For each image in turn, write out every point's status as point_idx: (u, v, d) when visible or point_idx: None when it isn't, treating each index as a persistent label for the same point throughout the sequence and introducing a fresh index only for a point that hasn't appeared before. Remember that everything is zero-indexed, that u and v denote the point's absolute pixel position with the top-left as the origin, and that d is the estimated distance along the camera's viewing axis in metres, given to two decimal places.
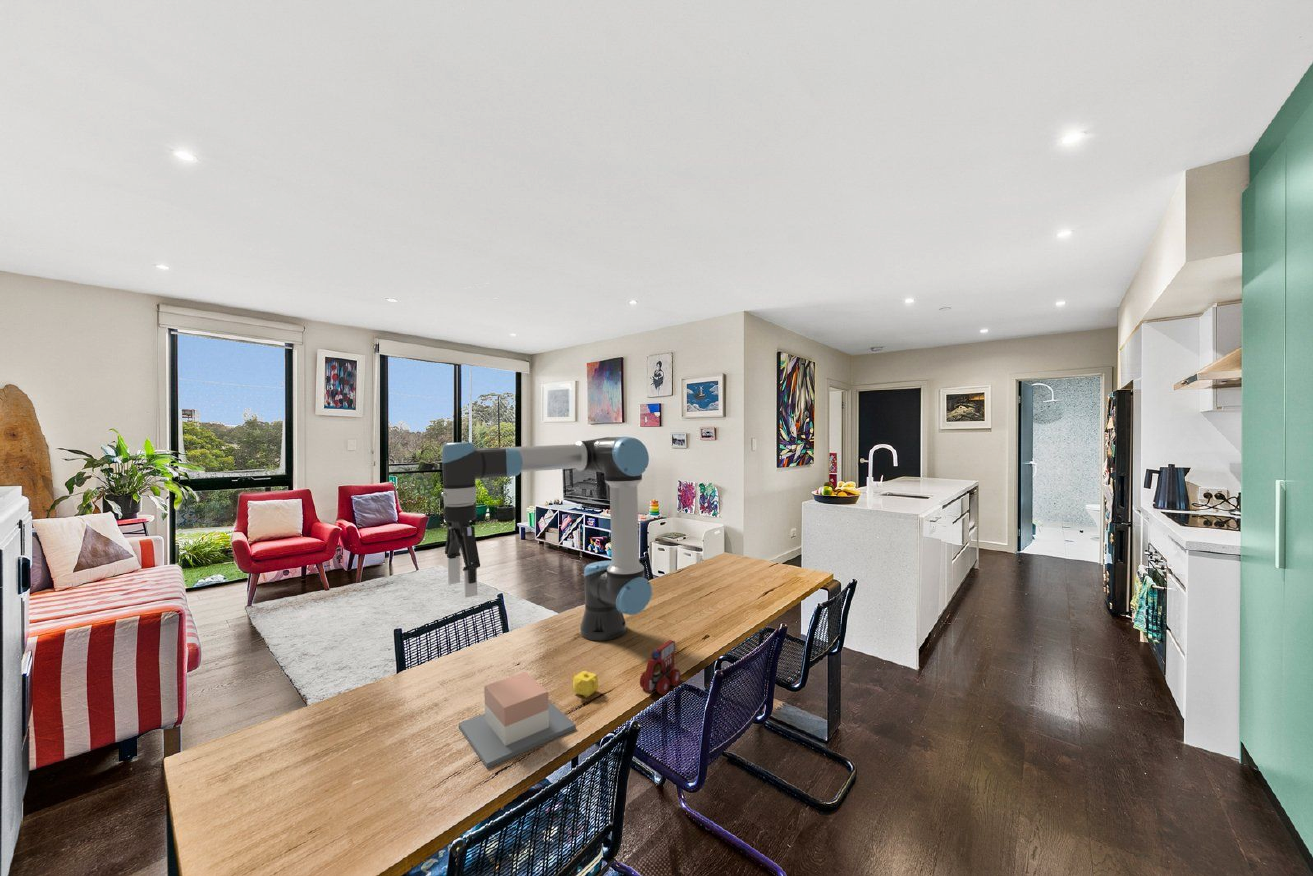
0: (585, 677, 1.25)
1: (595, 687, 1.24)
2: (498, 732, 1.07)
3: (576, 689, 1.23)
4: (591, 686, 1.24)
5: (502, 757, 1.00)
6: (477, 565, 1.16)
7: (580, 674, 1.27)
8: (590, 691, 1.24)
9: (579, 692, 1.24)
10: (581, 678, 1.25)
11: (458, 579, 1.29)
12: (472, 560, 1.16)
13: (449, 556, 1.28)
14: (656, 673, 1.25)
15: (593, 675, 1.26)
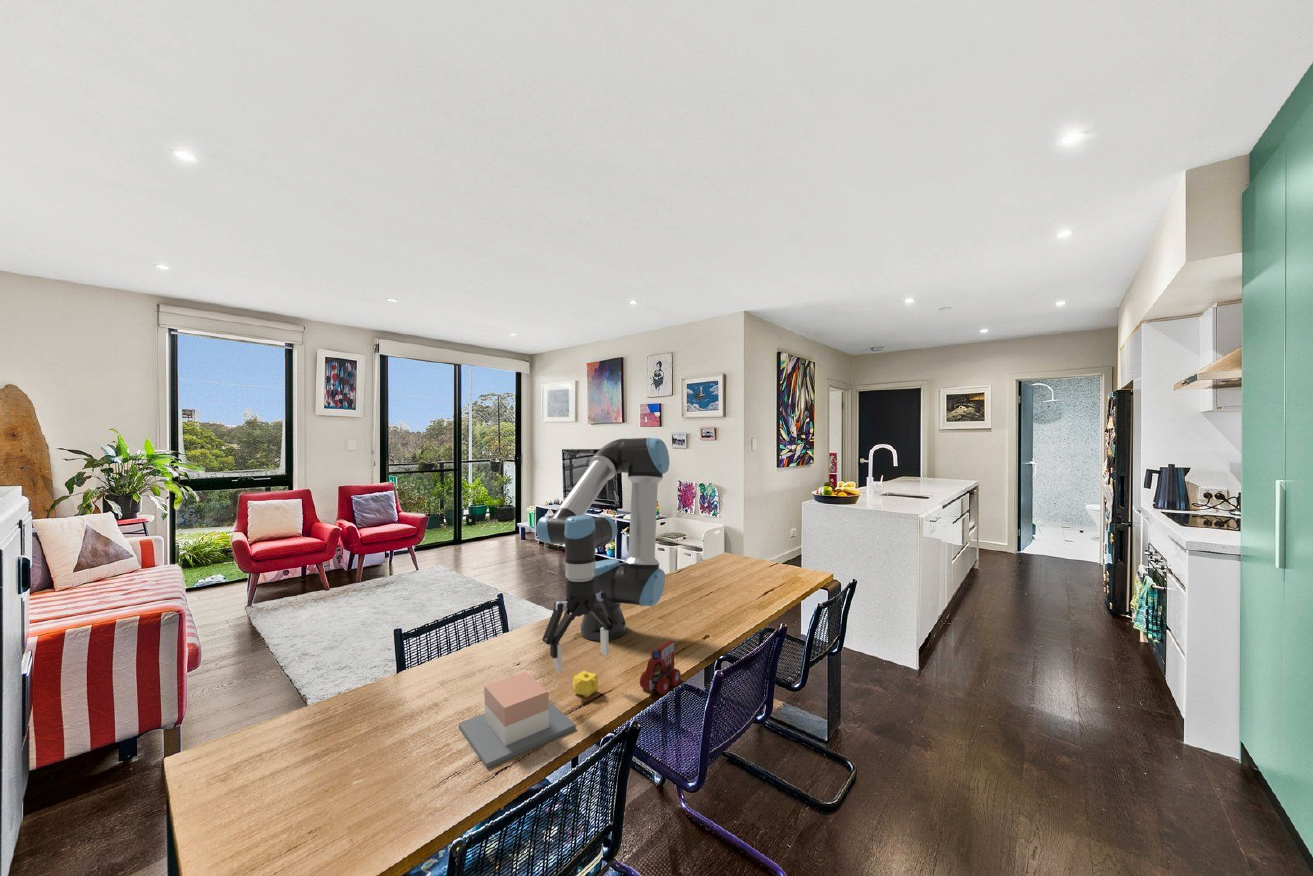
0: (585, 677, 1.25)
1: (595, 687, 1.24)
2: (498, 732, 1.07)
3: (576, 689, 1.23)
4: (591, 686, 1.24)
5: (502, 757, 1.00)
6: (545, 641, 1.19)
7: (580, 674, 1.27)
8: (590, 691, 1.24)
9: (579, 692, 1.24)
10: (581, 678, 1.25)
11: (605, 652, 1.29)
12: (545, 635, 1.20)
13: (603, 625, 1.30)
14: (656, 673, 1.25)
15: (593, 675, 1.26)
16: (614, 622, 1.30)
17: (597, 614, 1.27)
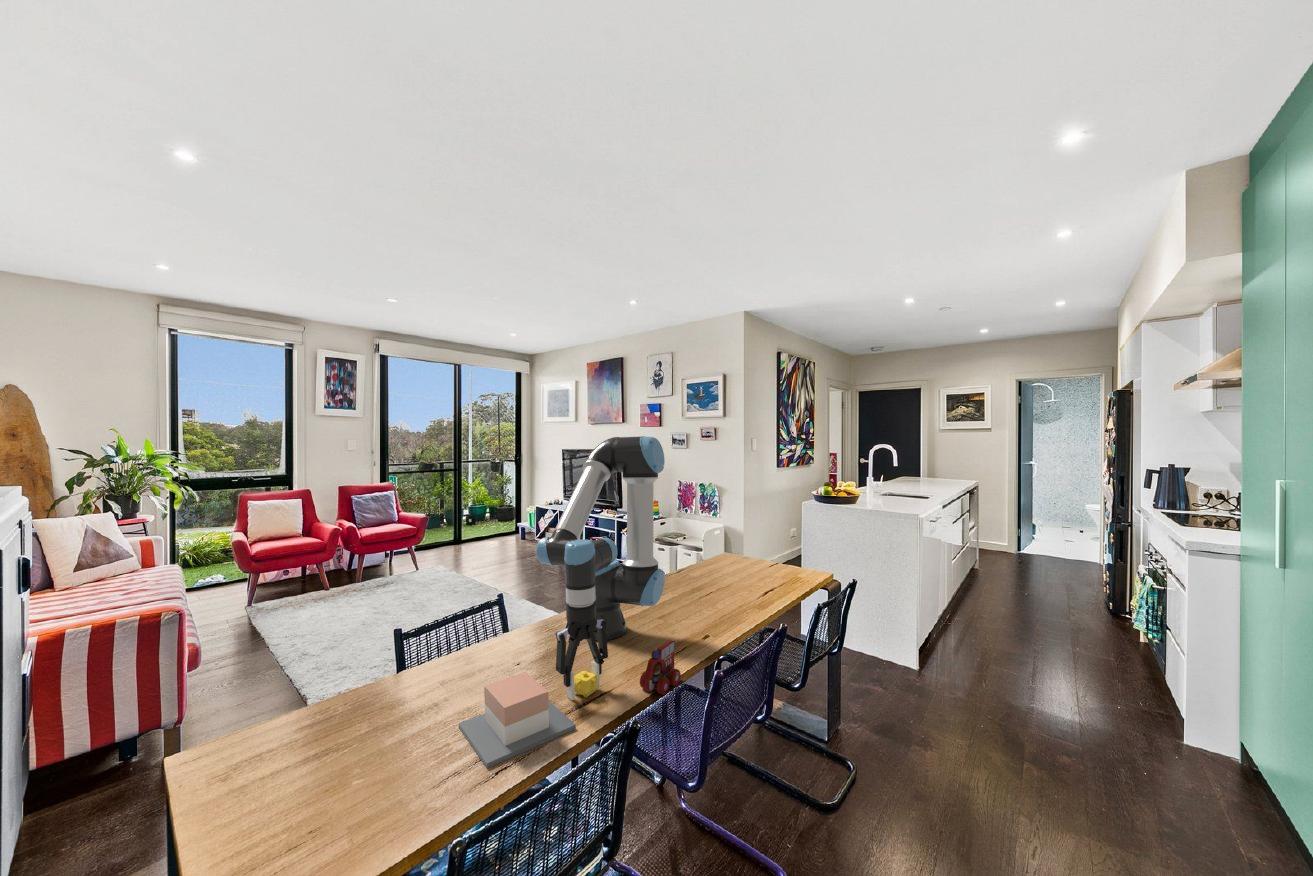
0: (585, 677, 1.25)
1: (594, 687, 1.24)
2: (498, 732, 1.07)
3: (575, 689, 1.23)
4: (590, 686, 1.24)
5: (502, 757, 1.00)
6: (559, 671, 1.21)
7: (580, 674, 1.27)
8: (589, 691, 1.24)
9: (578, 692, 1.24)
10: (580, 678, 1.25)
11: None
12: (557, 665, 1.22)
13: None
14: (656, 673, 1.25)
15: (593, 675, 1.26)
16: (605, 655, 1.28)
17: (593, 643, 1.26)
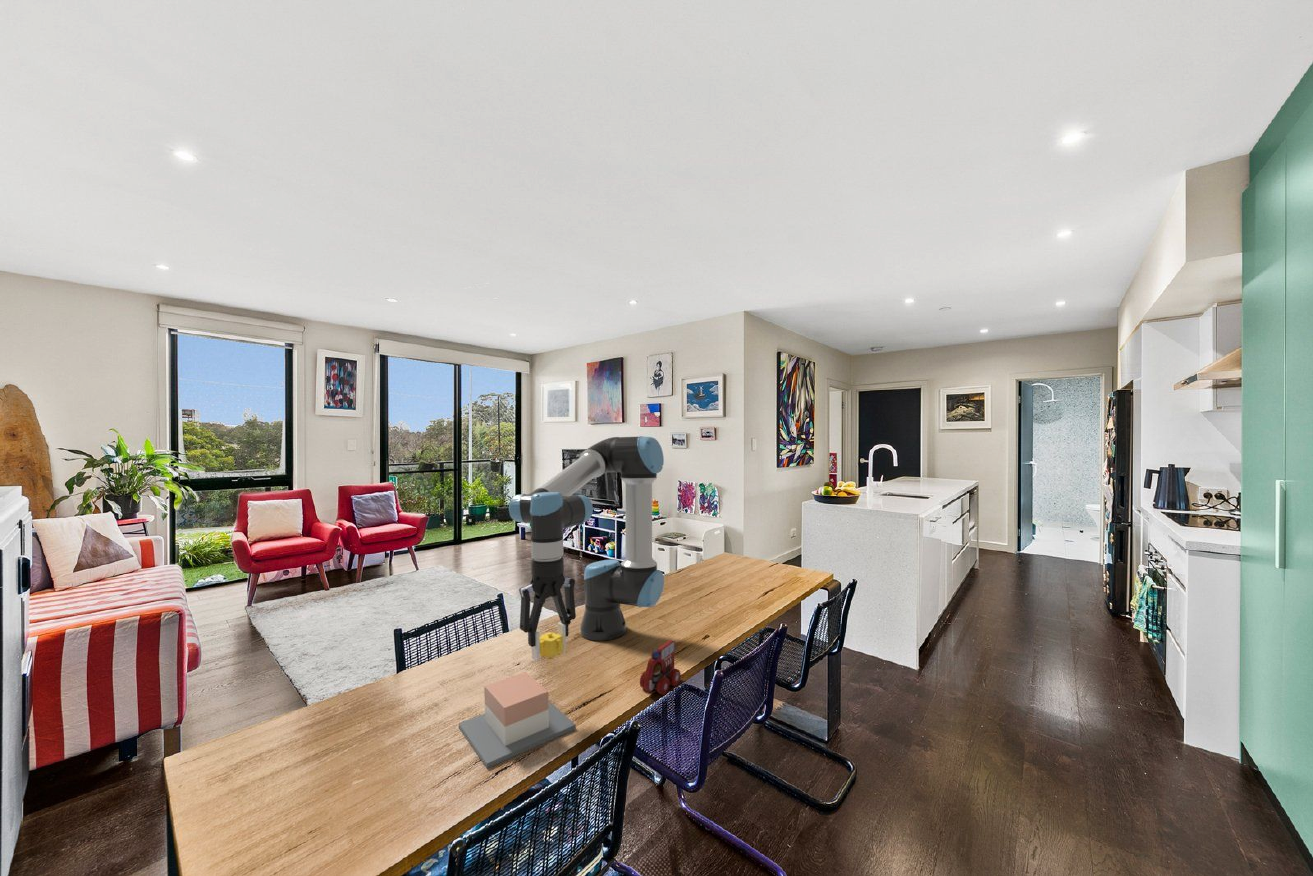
0: (550, 638, 1.17)
1: (559, 648, 1.16)
2: (498, 732, 1.07)
3: None
4: (555, 647, 1.16)
5: (502, 757, 1.00)
6: (523, 629, 1.13)
7: (545, 635, 1.19)
8: (554, 652, 1.16)
9: (542, 653, 1.16)
10: (545, 639, 1.17)
11: None
12: (521, 623, 1.14)
13: (560, 619, 1.21)
14: (656, 673, 1.25)
15: (558, 636, 1.18)
16: (572, 616, 1.21)
17: (560, 601, 1.19)
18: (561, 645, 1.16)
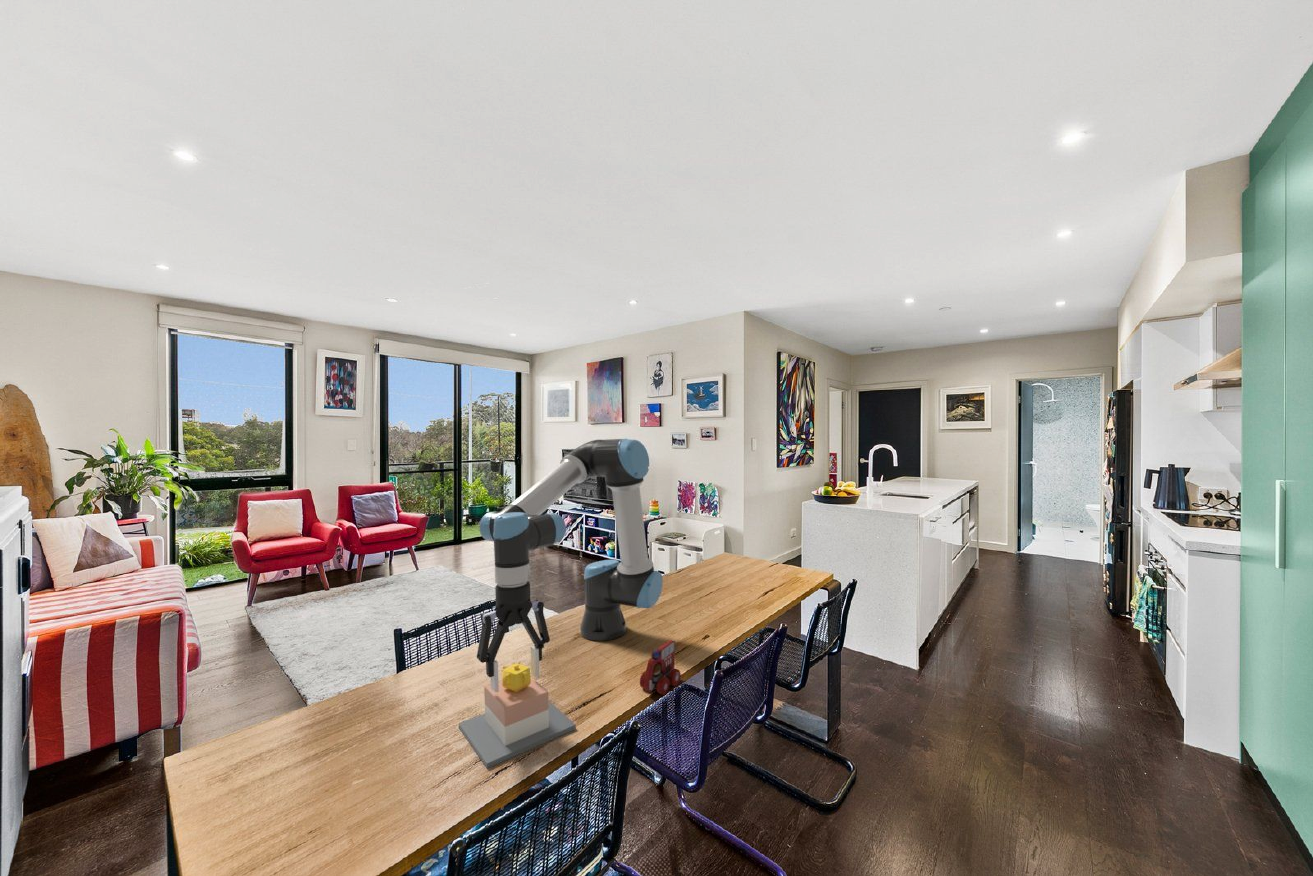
0: (516, 670, 1.11)
1: (525, 681, 1.09)
2: (498, 732, 1.07)
3: (503, 683, 1.09)
4: (521, 680, 1.10)
5: (502, 757, 1.00)
6: (479, 659, 1.06)
7: (511, 667, 1.12)
8: (519, 686, 1.09)
9: (508, 687, 1.10)
10: (510, 671, 1.10)
11: (535, 673, 1.14)
12: (479, 652, 1.07)
13: (533, 642, 1.15)
14: (656, 673, 1.25)
15: (525, 668, 1.12)
16: (546, 639, 1.15)
17: (529, 627, 1.12)
18: (527, 678, 1.10)
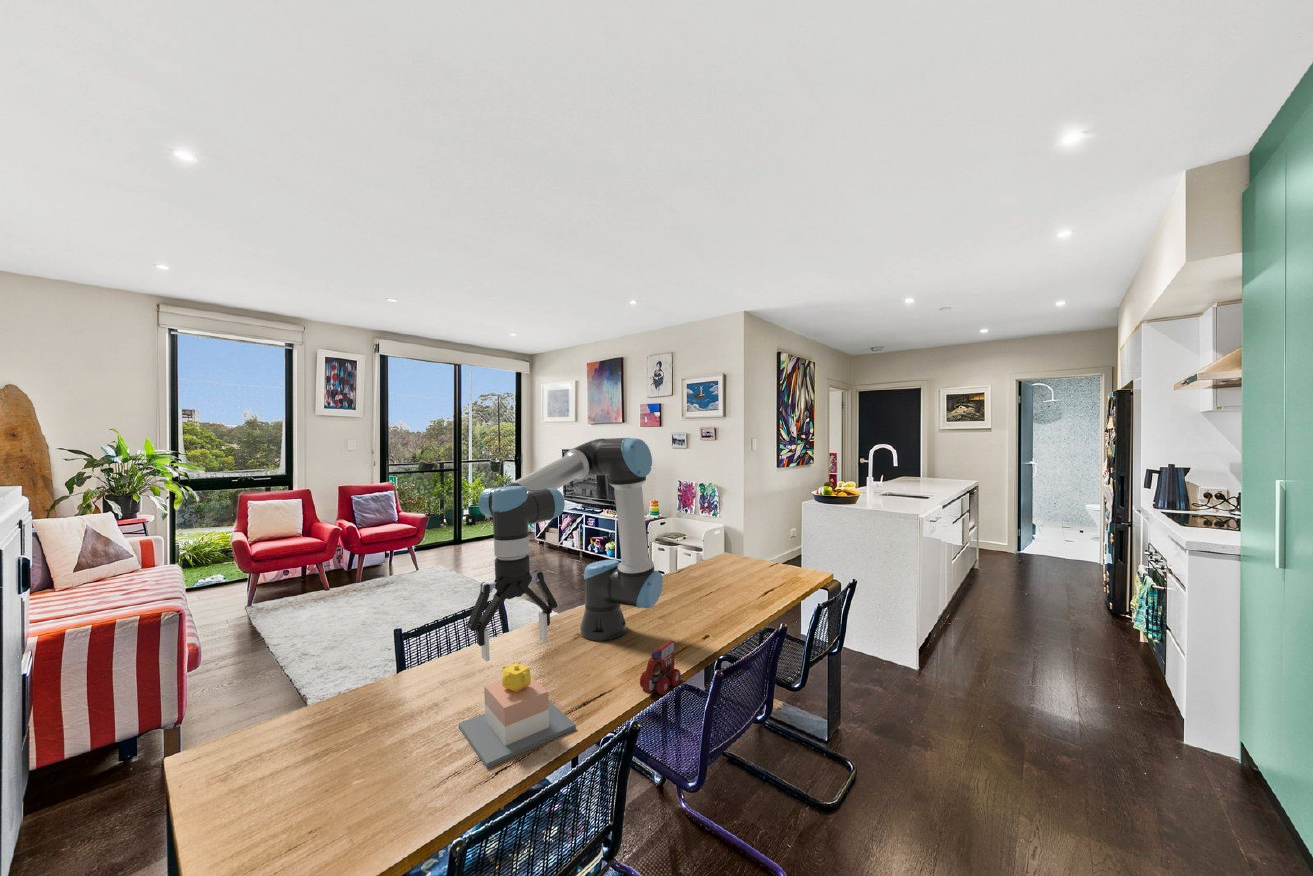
0: (515, 670, 1.11)
1: (525, 681, 1.09)
2: (498, 732, 1.07)
3: (503, 683, 1.09)
4: (521, 680, 1.10)
5: (502, 757, 1.00)
6: (469, 628, 1.05)
7: (511, 667, 1.12)
8: (519, 686, 1.09)
9: (508, 687, 1.10)
10: (510, 671, 1.10)
11: (543, 638, 1.15)
12: (470, 620, 1.06)
13: (541, 608, 1.17)
14: (656, 673, 1.25)
15: (525, 668, 1.12)
16: (554, 605, 1.16)
17: (532, 596, 1.13)
18: (527, 678, 1.10)
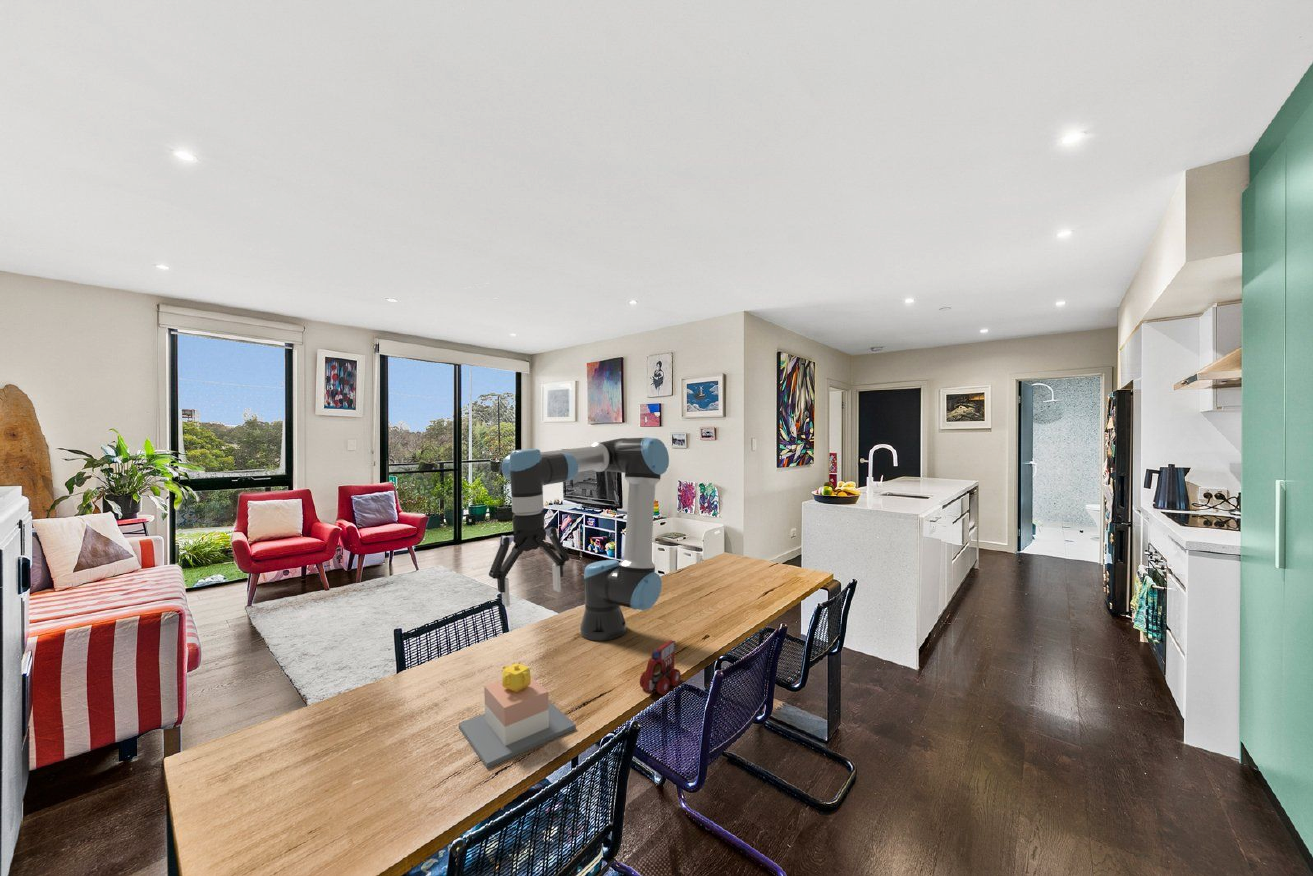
0: (515, 670, 1.11)
1: (525, 681, 1.09)
2: (498, 732, 1.07)
3: (503, 683, 1.09)
4: (521, 680, 1.10)
5: (502, 757, 1.00)
6: (491, 576, 1.15)
7: (511, 667, 1.12)
8: (519, 686, 1.09)
9: (508, 687, 1.10)
10: (510, 671, 1.10)
11: (557, 588, 1.26)
12: (492, 569, 1.16)
13: None
14: (656, 673, 1.25)
15: (525, 668, 1.12)
16: (566, 558, 1.27)
17: (547, 549, 1.24)
18: (527, 678, 1.10)
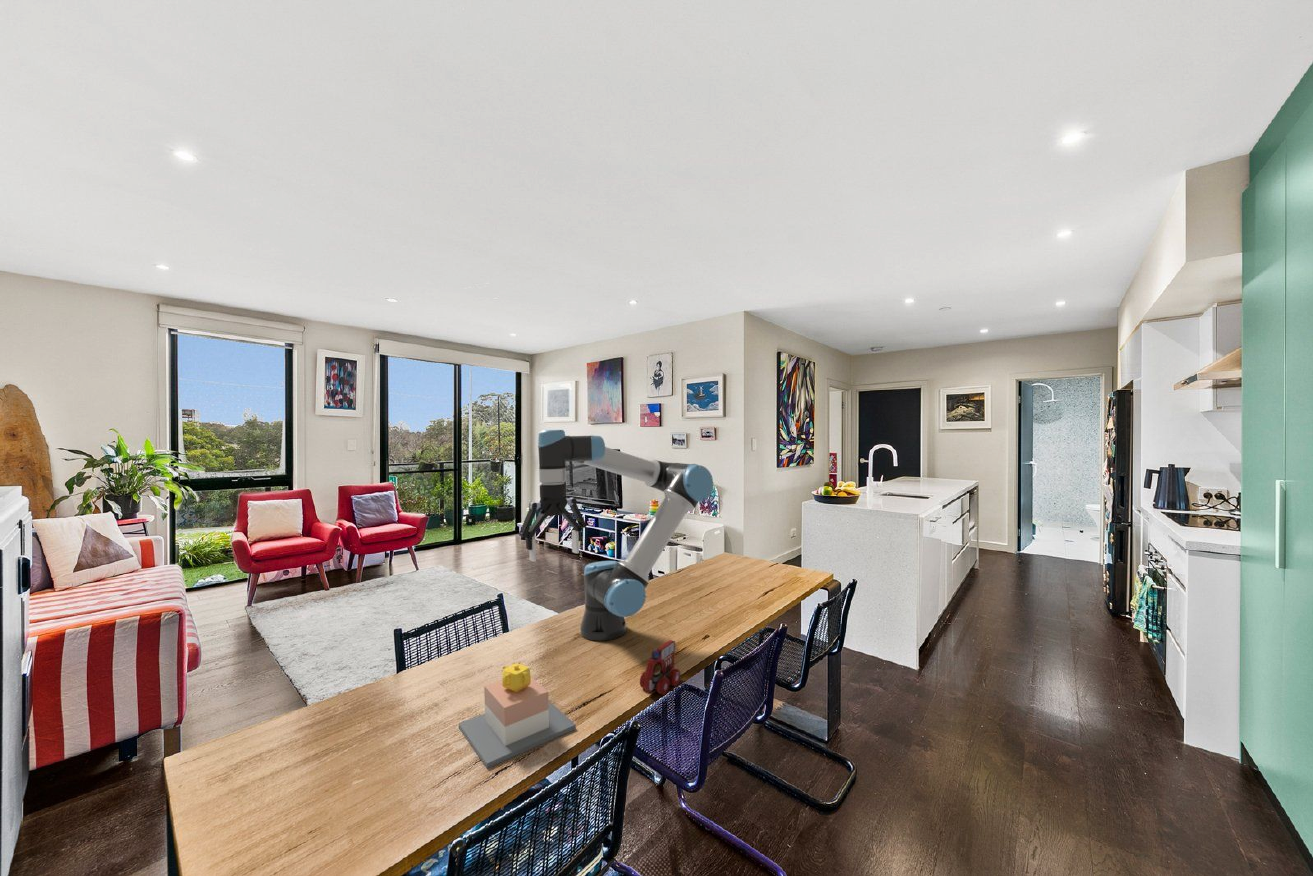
0: (515, 670, 1.11)
1: (525, 681, 1.09)
2: (498, 732, 1.07)
3: (503, 683, 1.09)
4: (521, 680, 1.10)
5: (502, 757, 1.00)
6: (521, 535, 1.36)
7: (511, 667, 1.12)
8: (519, 686, 1.09)
9: (508, 687, 1.10)
10: (510, 671, 1.10)
11: (575, 550, 1.46)
12: (521, 529, 1.37)
13: (574, 528, 1.48)
14: (656, 673, 1.25)
15: (525, 668, 1.12)
16: (584, 525, 1.48)
17: (568, 516, 1.44)
18: (527, 678, 1.10)
